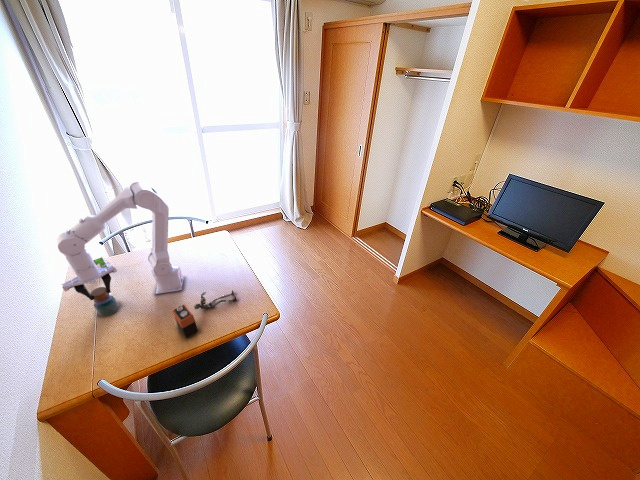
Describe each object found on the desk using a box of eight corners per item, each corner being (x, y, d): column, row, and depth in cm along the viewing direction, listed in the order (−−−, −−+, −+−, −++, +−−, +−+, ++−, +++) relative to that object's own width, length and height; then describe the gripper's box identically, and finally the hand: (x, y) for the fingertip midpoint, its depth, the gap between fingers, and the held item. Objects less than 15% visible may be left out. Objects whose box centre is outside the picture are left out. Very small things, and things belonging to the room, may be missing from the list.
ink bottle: (121, 301, 102) (115, 290, 99) (115, 314, 97) (109, 302, 94) (101, 304, 101) (94, 293, 97) (95, 317, 95) (87, 305, 92)
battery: (186, 339, 90) (179, 320, 85) (178, 327, 94) (170, 308, 88) (198, 331, 93) (192, 312, 87) (190, 320, 97) (183, 301, 91)
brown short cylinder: (111, 292, 98) (108, 285, 96) (107, 301, 94) (103, 294, 93) (97, 294, 97) (93, 288, 95) (92, 303, 93) (88, 297, 91)
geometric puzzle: (87, 266, 115) (84, 259, 109) (106, 259, 119) (104, 252, 113) (96, 279, 114) (93, 273, 108) (114, 272, 118) (112, 266, 112)
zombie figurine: (234, 289, 101) (193, 304, 95) (237, 301, 105) (197, 316, 99) (230, 280, 105) (190, 294, 98) (232, 292, 109) (194, 306, 102)
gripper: (57, 282, 80) (77, 312, 88) (113, 261, 90) (127, 290, 97) (53, 271, 84) (72, 300, 92) (107, 252, 93) (121, 281, 101)
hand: (100, 294), depth 95 cm, fingers closed on brown short cylinder, 4 cm apart
